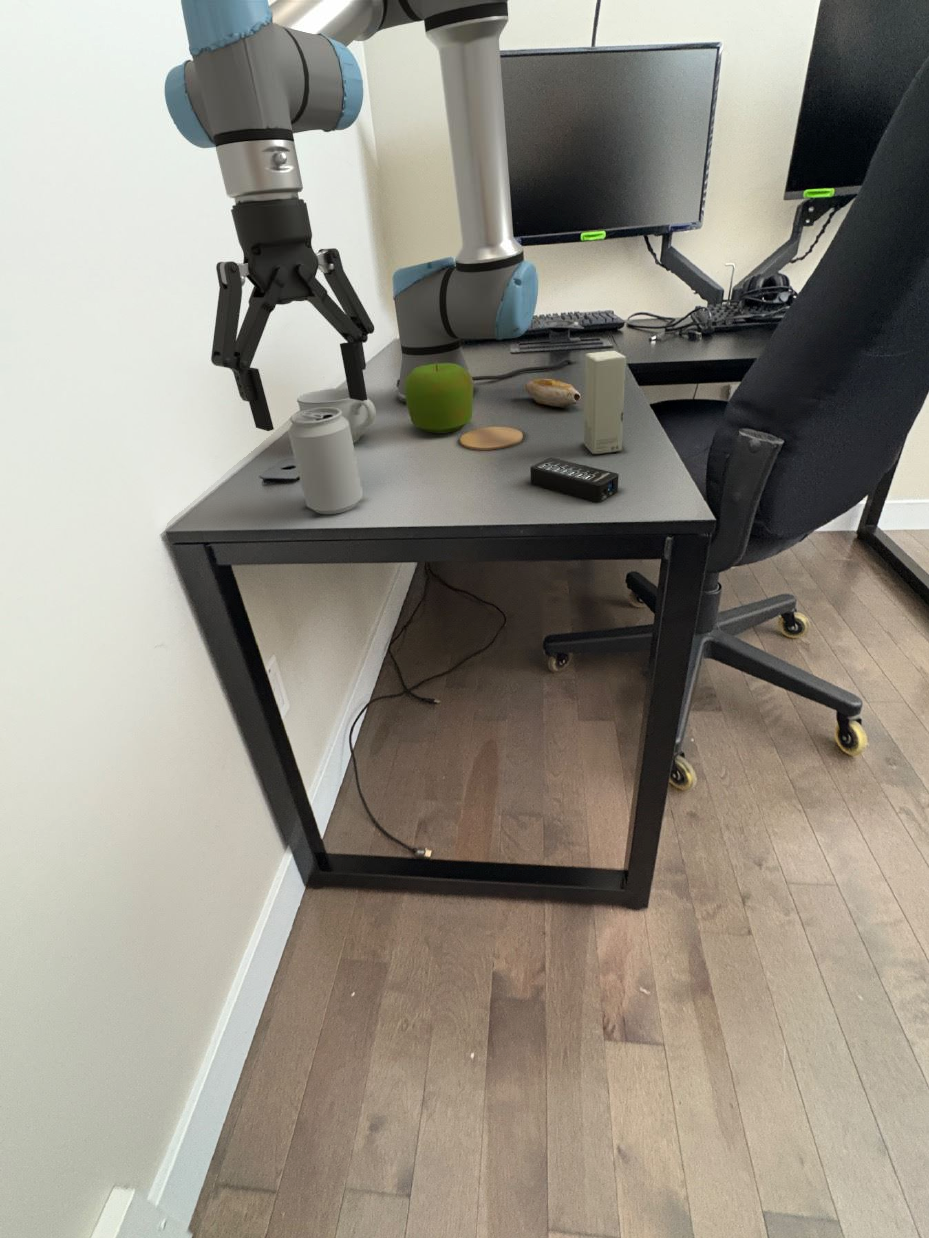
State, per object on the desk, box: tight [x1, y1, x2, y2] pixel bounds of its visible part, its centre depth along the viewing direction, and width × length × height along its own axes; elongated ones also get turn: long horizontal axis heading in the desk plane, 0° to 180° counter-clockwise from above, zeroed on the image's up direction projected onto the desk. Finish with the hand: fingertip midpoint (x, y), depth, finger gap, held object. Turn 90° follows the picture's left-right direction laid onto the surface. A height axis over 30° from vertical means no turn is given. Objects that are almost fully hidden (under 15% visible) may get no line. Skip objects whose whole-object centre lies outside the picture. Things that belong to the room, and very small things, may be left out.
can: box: [287, 407, 364, 515], centre depth 76 cm, size 8×8×12 cm
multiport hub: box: [529, 457, 620, 503], centre depth 77 cm, size 4×11×2 cm, turn 45°
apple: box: [404, 361, 474, 434], centre depth 99 cm, size 11×11×11 cm
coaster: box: [459, 426, 524, 451], centre depth 95 cm, size 10×10×1 cm
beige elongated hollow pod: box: [524, 378, 582, 408], centre depth 107 cm, size 5×14×4 cm, turn 30°
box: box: [583, 350, 627, 455], centre depth 84 cm, size 5×4×13 cm
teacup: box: [296, 387, 377, 444], centre depth 98 cm, size 14×11×8 cm
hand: (314, 413), depth 72 cm, fingers open, 13 cm apart
